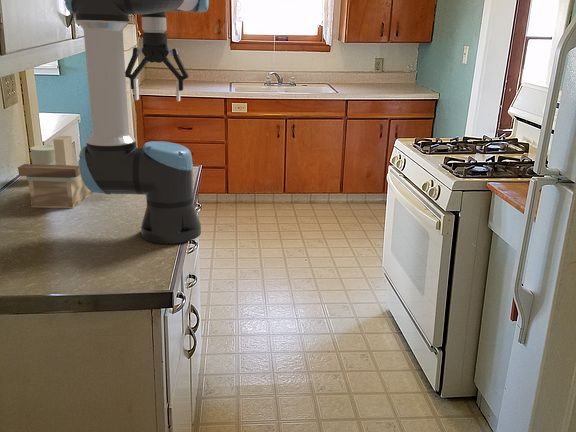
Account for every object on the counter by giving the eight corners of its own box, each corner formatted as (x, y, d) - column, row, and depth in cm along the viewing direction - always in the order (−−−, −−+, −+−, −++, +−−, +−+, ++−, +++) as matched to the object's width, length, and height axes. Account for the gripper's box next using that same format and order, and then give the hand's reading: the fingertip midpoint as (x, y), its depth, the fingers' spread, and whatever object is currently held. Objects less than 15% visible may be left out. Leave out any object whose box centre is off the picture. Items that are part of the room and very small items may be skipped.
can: (68, 178, 191) (65, 144, 187) (55, 185, 182) (51, 149, 178) (42, 177, 192) (39, 142, 188) (28, 183, 183) (24, 148, 179)
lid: (71, 181, 157) (67, 146, 154) (26, 180, 157) (22, 145, 154) (95, 165, 176) (92, 133, 173) (55, 164, 176) (52, 132, 173)
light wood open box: (73, 208, 160) (70, 181, 157) (31, 207, 160) (28, 180, 157) (96, 189, 179) (94, 165, 176) (59, 188, 179) (56, 164, 176)
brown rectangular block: (75, 177, 156) (75, 168, 155) (19, 175, 156) (17, 167, 155) (81, 174, 159) (80, 165, 159) (25, 172, 159) (24, 164, 159)
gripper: (196, 33, 178) (197, 100, 184) (118, 30, 177) (122, 97, 184) (192, 33, 170) (194, 102, 177) (111, 30, 170) (116, 100, 177)
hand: (157, 100), depth 181 cm, fingers open, 13 cm apart
